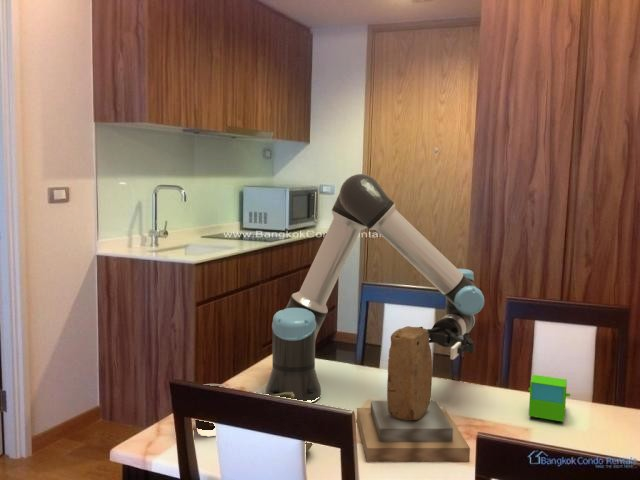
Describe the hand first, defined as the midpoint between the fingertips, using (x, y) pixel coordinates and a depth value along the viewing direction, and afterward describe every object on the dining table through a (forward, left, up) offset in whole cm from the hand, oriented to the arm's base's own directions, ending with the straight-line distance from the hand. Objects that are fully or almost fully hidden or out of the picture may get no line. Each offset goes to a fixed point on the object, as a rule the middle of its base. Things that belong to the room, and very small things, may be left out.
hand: (424, 349), depth 143 cm
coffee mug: (-50, -3, -19) cm, 53 cm away
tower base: (-5, -8, -19) cm, 21 cm away
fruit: (-32, -15, -19) cm, 40 cm away
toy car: (+34, +6, -19) cm, 40 cm away
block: (-5, -8, -13) cm, 16 cm away
